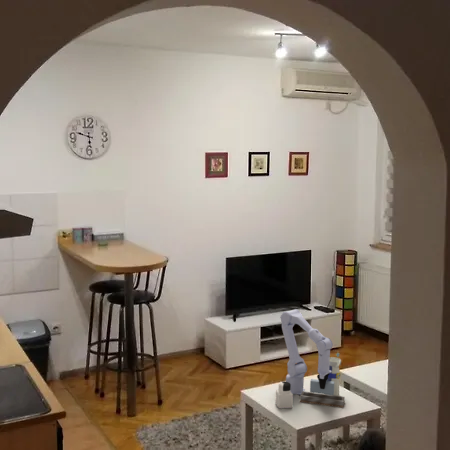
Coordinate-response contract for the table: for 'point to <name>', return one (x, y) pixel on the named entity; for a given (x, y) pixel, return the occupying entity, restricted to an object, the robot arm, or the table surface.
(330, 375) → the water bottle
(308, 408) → the table surface
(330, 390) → the grey-blue rectangular block
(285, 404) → the medicine bottle
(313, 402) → the track board
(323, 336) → the robot arm
